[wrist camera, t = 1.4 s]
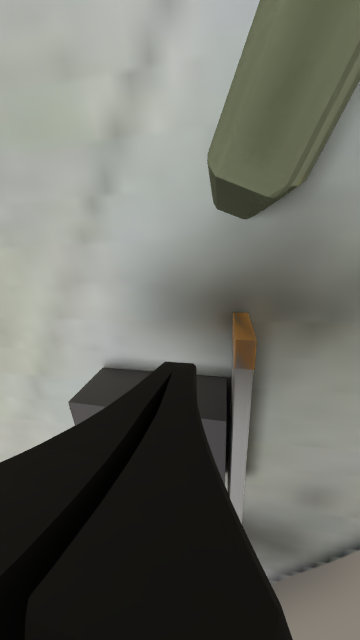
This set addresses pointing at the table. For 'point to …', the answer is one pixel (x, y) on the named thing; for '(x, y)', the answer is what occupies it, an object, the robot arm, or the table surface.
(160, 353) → the table surface
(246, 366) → the side door
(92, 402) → the camera body
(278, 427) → the table surface
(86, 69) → the table surface
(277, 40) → the handheld radio
